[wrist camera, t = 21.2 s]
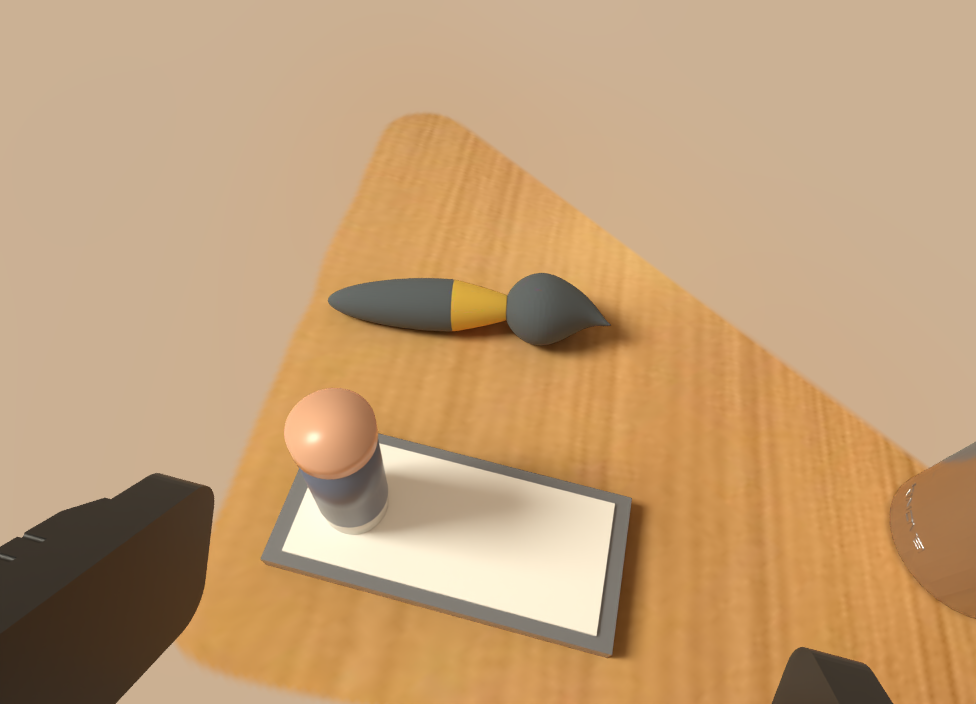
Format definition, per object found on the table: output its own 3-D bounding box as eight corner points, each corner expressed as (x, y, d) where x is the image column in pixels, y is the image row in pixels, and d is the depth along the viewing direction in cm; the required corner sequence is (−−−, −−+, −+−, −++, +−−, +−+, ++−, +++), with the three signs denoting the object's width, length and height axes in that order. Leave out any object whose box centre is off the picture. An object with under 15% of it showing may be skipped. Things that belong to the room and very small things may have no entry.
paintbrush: (324, 353, 45) (312, 312, 40) (332, 296, 47) (322, 251, 43) (603, 359, 46) (620, 319, 42) (596, 303, 49) (611, 261, 44)
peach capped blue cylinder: (400, 480, 38) (388, 401, 30) (375, 546, 36) (355, 480, 28) (337, 461, 39) (307, 378, 30) (308, 525, 37) (268, 454, 28)
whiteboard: (626, 504, 40) (632, 496, 39) (607, 657, 35) (613, 654, 34) (323, 426, 41) (320, 417, 40) (265, 564, 37) (259, 558, 36)
